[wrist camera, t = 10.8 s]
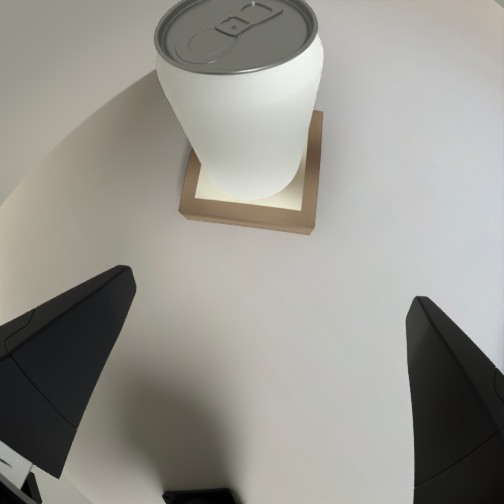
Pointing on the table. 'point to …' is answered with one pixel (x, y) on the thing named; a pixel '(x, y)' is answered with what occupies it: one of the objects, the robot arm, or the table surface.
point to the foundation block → (260, 210)
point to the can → (242, 87)
